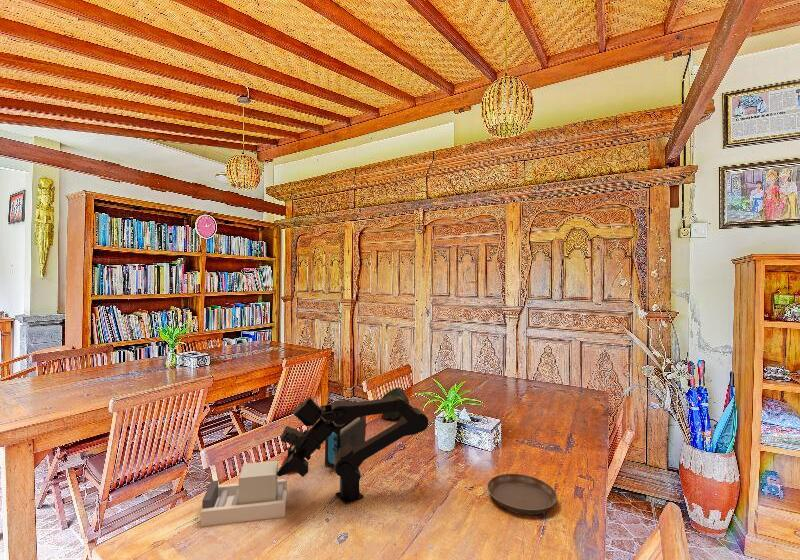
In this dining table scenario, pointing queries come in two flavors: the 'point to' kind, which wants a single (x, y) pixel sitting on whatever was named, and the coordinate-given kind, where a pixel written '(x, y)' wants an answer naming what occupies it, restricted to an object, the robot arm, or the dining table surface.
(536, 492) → the plant saucer
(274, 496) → the beige block
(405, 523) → the dining table surface
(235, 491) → the roller bed
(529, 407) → the dining table surface
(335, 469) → the robot arm
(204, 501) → the rubber stop
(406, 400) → the squash
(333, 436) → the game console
